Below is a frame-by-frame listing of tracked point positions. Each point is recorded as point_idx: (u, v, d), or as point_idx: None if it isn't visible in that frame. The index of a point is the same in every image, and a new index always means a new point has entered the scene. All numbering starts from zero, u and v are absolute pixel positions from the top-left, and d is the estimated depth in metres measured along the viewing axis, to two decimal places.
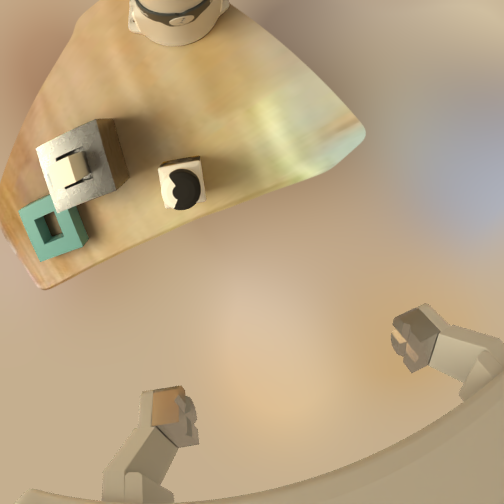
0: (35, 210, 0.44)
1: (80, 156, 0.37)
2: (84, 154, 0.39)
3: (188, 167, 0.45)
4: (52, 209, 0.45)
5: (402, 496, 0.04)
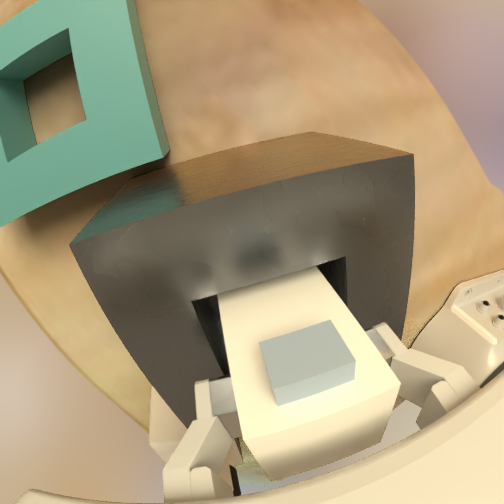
0: (99, 31, 0.09)
1: None
2: None
3: (232, 460, 0.21)
4: (92, 113, 0.11)
5: (402, 496, 0.04)
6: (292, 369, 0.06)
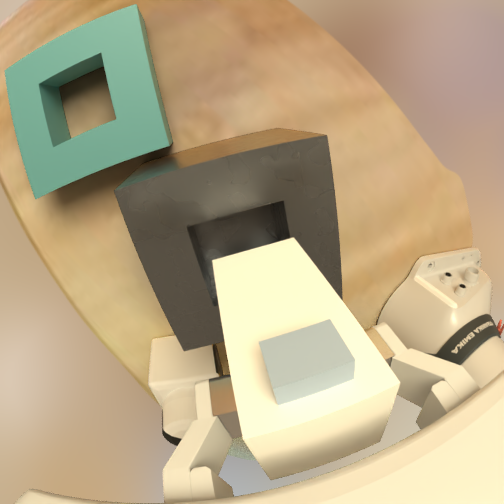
0: (124, 57, 0.15)
1: None
2: None
3: None
4: (120, 114, 0.17)
5: (402, 496, 0.04)
6: (292, 368, 0.06)
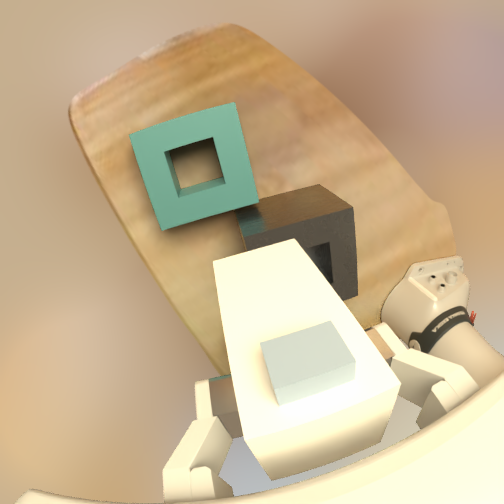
0: (229, 143, 0.30)
1: None
2: None
3: None
4: (228, 181, 0.32)
5: (402, 496, 0.04)
6: (293, 369, 0.06)
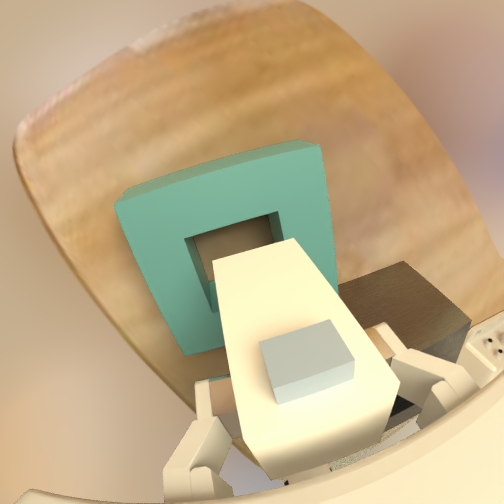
0: (306, 221, 0.17)
1: None
2: None
3: None
4: None
5: (402, 496, 0.04)
6: (292, 368, 0.06)
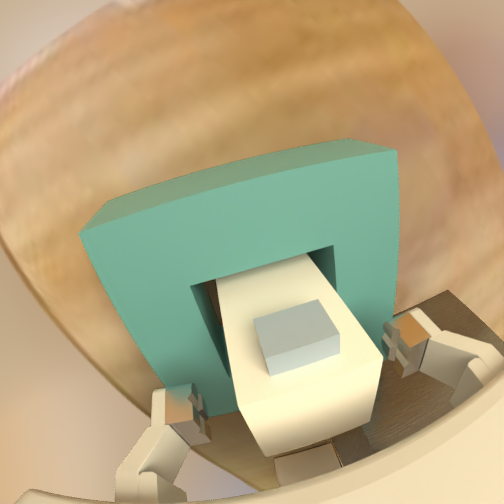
0: (368, 259, 0.12)
1: None
2: None
3: None
4: None
5: (402, 496, 0.04)
6: (282, 341, 0.07)
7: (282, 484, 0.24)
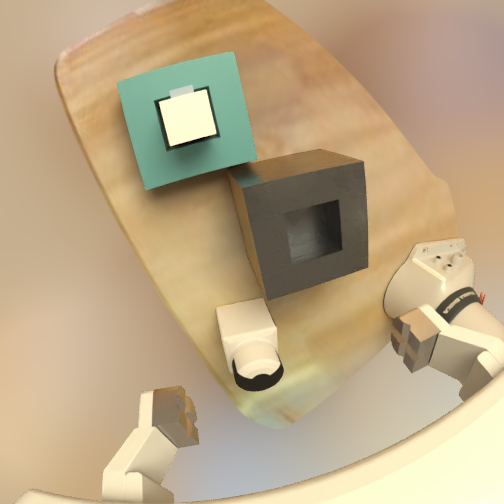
0: (226, 92, 0.26)
1: None
2: None
3: None
4: (224, 134, 0.27)
5: (402, 496, 0.04)
6: (175, 89, 0.21)
7: (219, 323, 0.38)
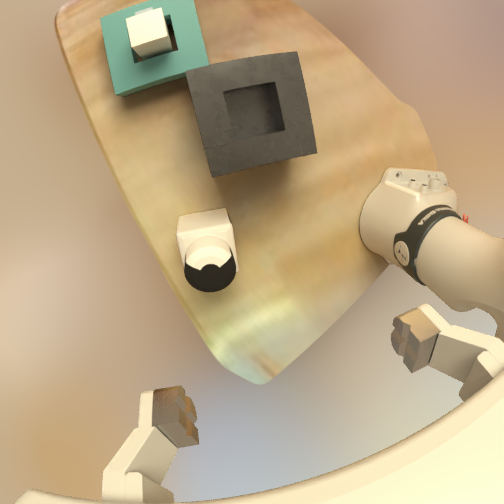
0: (184, 18, 0.26)
1: (165, 47, 0.27)
2: (167, 50, 0.29)
3: None
4: (181, 47, 0.28)
5: (402, 496, 0.04)
6: None
7: (177, 225, 0.38)
